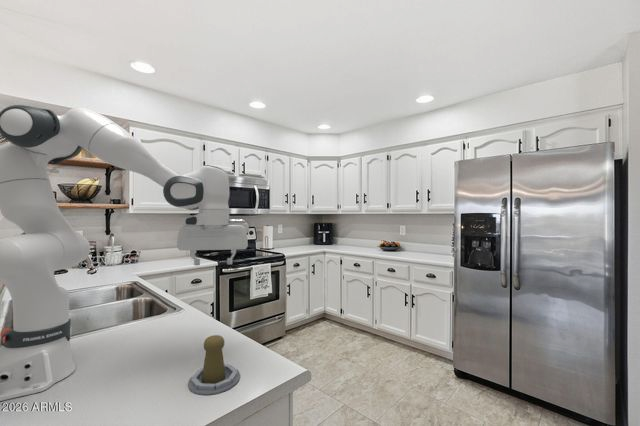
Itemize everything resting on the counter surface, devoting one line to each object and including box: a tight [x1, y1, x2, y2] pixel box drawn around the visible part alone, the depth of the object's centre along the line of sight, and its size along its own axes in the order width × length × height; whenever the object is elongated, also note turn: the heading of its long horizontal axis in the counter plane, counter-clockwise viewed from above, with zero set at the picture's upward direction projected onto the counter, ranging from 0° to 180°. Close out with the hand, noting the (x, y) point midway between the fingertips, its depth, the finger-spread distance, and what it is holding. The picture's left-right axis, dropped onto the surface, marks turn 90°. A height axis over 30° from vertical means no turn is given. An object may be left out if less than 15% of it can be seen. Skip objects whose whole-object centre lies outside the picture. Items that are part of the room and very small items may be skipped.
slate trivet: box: [187, 363, 241, 396], centre depth 79 cm, size 13×13×2 cm
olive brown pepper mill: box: [202, 334, 225, 384], centre depth 79 cm, size 6×6×11 cm
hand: (213, 264), depth 90 cm, fingers open, 8 cm apart
